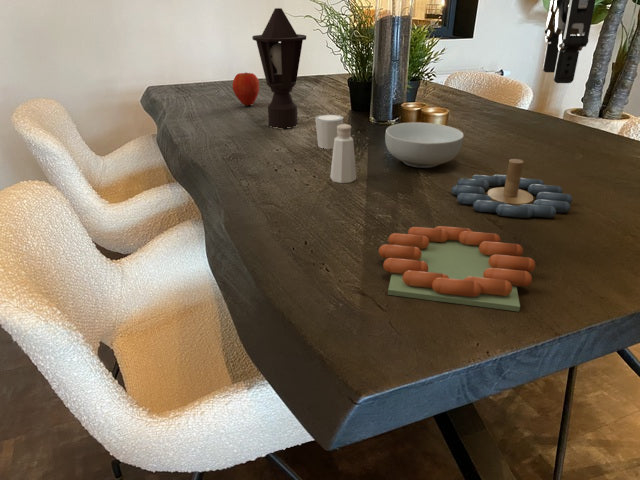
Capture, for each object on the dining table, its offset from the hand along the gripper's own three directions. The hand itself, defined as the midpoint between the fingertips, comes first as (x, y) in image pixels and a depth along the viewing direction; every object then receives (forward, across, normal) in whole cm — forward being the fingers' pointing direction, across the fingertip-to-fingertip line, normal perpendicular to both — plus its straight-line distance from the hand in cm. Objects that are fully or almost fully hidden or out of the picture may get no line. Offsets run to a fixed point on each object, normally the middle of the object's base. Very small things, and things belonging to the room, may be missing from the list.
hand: (556, 77), depth 65 cm
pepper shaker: (+24, +20, +33) cm, 45 cm away
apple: (+23, +79, +77) cm, 113 cm away
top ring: (+23, -11, +11) cm, 28 cm away
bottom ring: (+24, +16, +1) cm, 29 cm away
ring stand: (+24, +16, +1) cm, 29 cm away
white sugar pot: (+24, +42, +41) cm, 63 cm away
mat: (+24, -12, +11) cm, 29 cm away
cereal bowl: (+24, +34, +18) cm, 46 cm away
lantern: (+23, +58, +58) cm, 85 cm away
